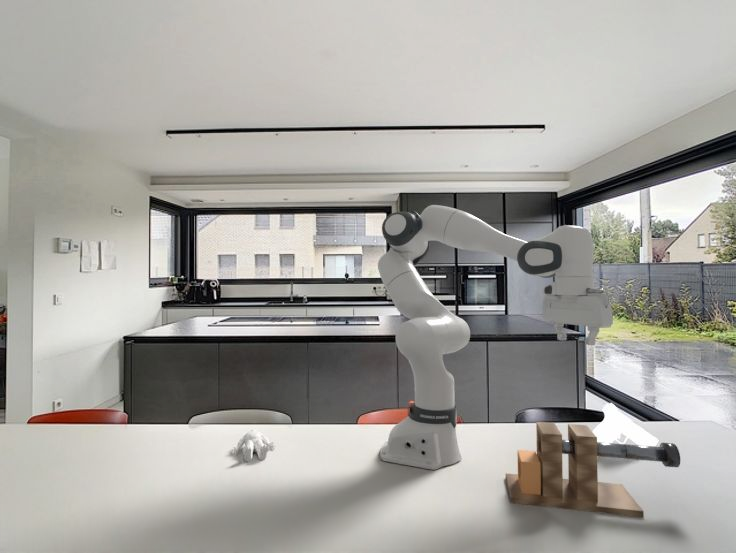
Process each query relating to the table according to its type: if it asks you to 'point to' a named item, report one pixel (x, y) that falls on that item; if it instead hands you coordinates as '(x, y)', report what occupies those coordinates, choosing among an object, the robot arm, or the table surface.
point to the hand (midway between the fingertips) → (575, 342)
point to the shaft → (632, 452)
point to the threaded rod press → (572, 476)
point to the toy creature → (254, 445)
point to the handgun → (621, 428)
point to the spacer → (529, 472)
